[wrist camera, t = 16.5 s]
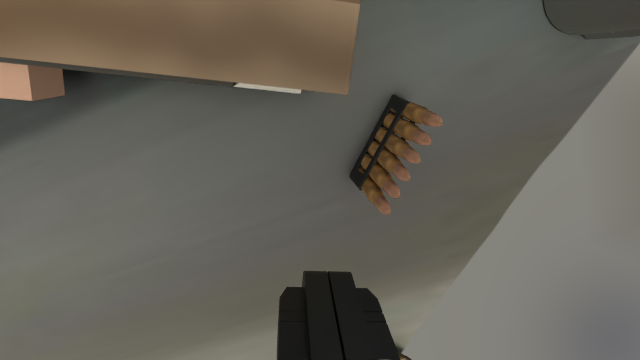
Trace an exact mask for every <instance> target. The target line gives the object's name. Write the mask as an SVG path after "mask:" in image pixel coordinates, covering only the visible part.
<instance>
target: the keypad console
mask: <svg viewBox="0 0 640 360" xmlns="http://www.w3.org/2000/svg"><path fill="white" fill-rule="evenodd" d="M360 1H361V0H0V62H2V63H12V64H21V65H31V66H40V67H49V68H59V69H68V70H77V71H87V72H96V73H106V74H115V75H124V76H134V77H143V78H152V79H162V80H171V81H181V82H190V83H199V84H209V85H218V86H227V87H233V86H235V85H236V84H238V83H245V84H254V85H263V86H272V87H282V88H291V89H300V90H309V91H318V92H328V93H337V94H346V95H348V90H349V83H350V76H351V68H352V61H353V53H354V46H355V39H356V31H357V24H358V16H359V9H360Z"/></svg>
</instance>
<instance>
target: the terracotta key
mask: <svg viewBox="0 0 640 360" xmlns="http://www.w3.org/2000/svg"><path fill="white" fill-rule="evenodd" d="M63 95H65V91H64V81H63V72H62V69H59V68H49V67H40V66H31V65H21V64H12V63H2V62H0V98H7V99H18V100H28V101H34V100H40V99H46V98H52V97H58V96H63Z"/></svg>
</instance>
